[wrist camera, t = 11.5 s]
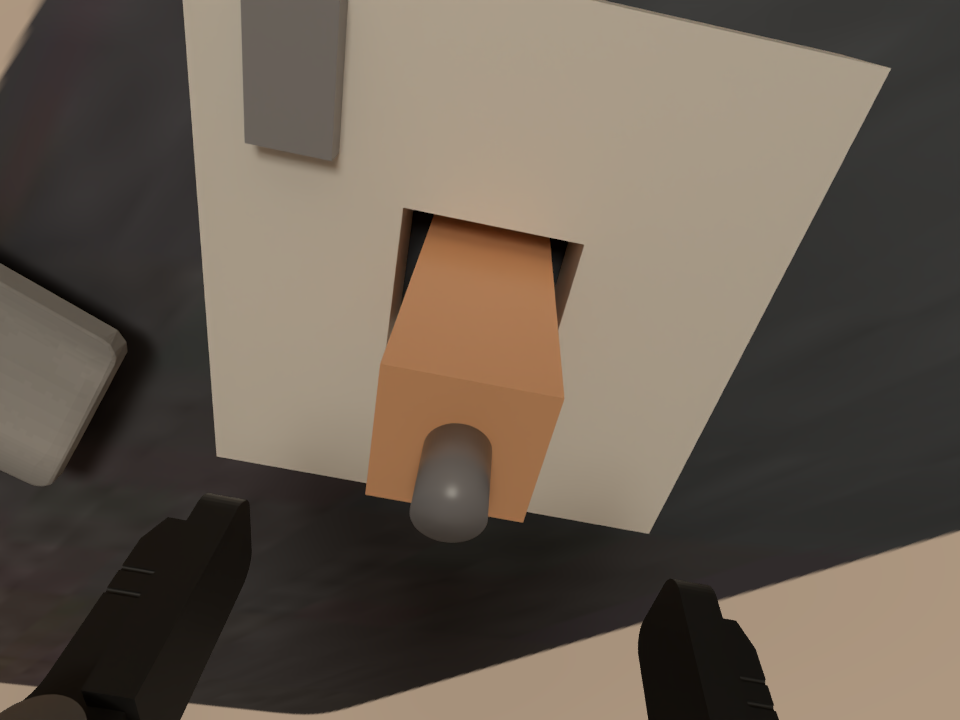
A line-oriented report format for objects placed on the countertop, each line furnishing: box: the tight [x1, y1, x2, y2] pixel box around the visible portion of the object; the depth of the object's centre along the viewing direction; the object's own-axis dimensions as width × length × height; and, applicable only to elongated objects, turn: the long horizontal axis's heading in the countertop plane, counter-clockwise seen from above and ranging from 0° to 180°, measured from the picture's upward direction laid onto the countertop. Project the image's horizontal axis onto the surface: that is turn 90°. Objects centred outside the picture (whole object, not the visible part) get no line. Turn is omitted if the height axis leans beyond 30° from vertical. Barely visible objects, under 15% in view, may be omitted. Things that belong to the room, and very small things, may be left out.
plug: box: [365, 214, 565, 543], centre depth 17 cm, size 4×4×12 cm
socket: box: [183, 0, 891, 534], centre depth 21 cm, size 18×18×4 cm
